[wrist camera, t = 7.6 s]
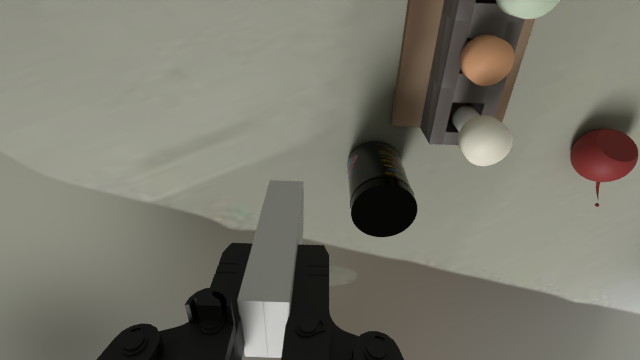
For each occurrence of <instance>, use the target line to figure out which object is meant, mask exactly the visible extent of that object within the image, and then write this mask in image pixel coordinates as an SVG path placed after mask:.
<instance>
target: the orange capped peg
mask: <svg viewBox="0 0 640 360" xmlns="http://www.w3.org/2000/svg"><path fill="white" fill-rule="evenodd" d="M513 63H514V51H513V48H512V46H511V45H510V44H509V43H508V42H507V41H505V40H503V39H500V38H498V37H496V36H494V35H489V34H484V35H480V36H477V37H475V38H467V41H466V45H465V47H464V48H463V50H462V52H461V55H460V59H459V65H460V69H461V71H462V73H463V74H464V75H465V76H466V77H468V78H469V79H470V80H471V81H472V82H473V83H475V84H477V85H481V86H489V85H493V84H496V83H498V82H499V81H501V80H502V79H503V78H505V77H506V76H507V74H508V73H509V72H510V70H511V68H512V66H513Z"/></svg>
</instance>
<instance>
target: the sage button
mask: <svg viewBox="0 0 640 360" xmlns="http://www.w3.org/2000/svg"><path fill="white" fill-rule="evenodd" d="M559 1H560V0H496V2H497V5H498V6H499V8H500V9H501V10H502V11H503V12H505V13H507V14H509V15H513V16H516V17H519V18H523V19H534V18H538V17H540V16H543V15H544V14H546V13H548V12H549V11H550V10H552V9H553V8H554V7H555V6H556V5H557V4H558V2H559Z"/></svg>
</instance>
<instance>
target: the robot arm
mask: <svg viewBox="0 0 640 360" xmlns="http://www.w3.org/2000/svg"><path fill="white" fill-rule="evenodd" d="M302 238H303V182H302V181H273V180H270V182H269V185H268V189H267V193H266V196H265V200H264V204H263V208H262V211H261V215H260V219H259V222H258V226H257V230H256V234H255V237H254V241H253V244H247V243H232V244H230V245H229V246H228V247H227V248H226V250H225V251H224V252H223V253H222V256H221V259H220V262H219V265H218V267H217V270H216V274H215V275H214V278H213V281H212V284H211V287H210V288H205V289H203V290H201V291H198V292H196V293H195V294H194V295H192V296H191V297H190V298H189V299H188V301H187V302H186V304H185V307H186V311H187V315H188V319H189V322H188V323H186V324H184V325H181V326H178V327H175V328H171V329H167V330H163V331H158V330H157V328H156V327H154V326H152V325H151V324H138V325H134V326H131V327H129V328H127V329H125V330H124V331H122V332H121V333H120V334H119V335H118V336H117V337H116V338H115V339H114V340H113V341H112V342H111V343H110V344H109V346H108V347H107V348H106V349H105V350H104V352H103V353H102V354H101V355H100V356H99V357H98V359H97V360H242V355H243V351H244V352H245V356H249V357H276V358H281V360H404V359H403V357H402V354H401V352H400V350H399V348H398V346H397V345H396V343H395V342H394V340H393V339H391V338H390V337H389V336H388V335H386V334H384V333H380V332H378V331H368V332H366V333H364V334H361V335H360V336H356V335H353V334H351V333H348V332H345V331H343V330H341V329H340V328H339V327H337V326H336V325H335V323H334V322H333V321H332V319H331V317H330V313H329V254H328V252H327V251H326V249H325V247H324V245H302Z"/></svg>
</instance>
